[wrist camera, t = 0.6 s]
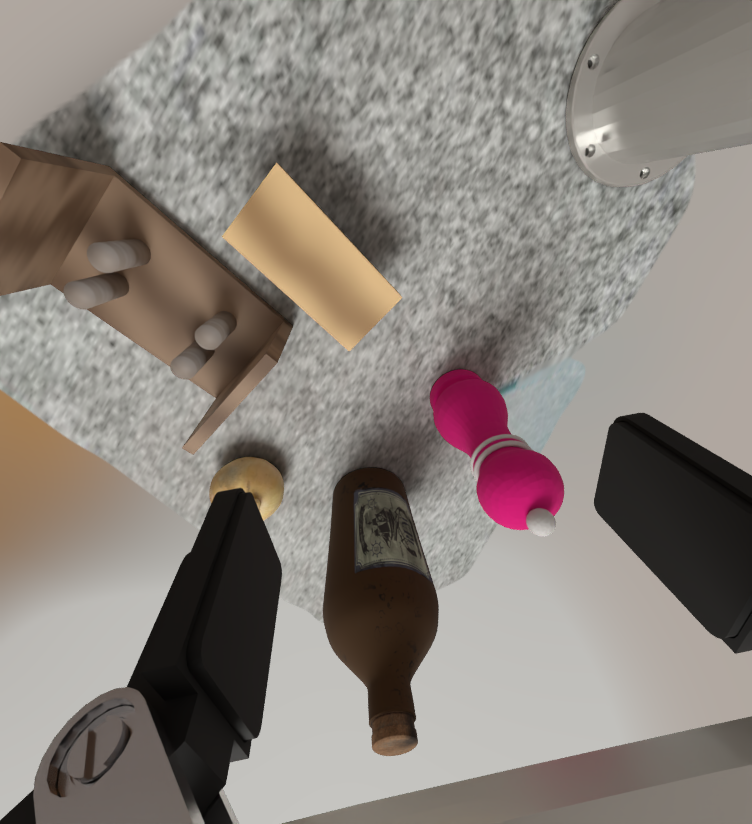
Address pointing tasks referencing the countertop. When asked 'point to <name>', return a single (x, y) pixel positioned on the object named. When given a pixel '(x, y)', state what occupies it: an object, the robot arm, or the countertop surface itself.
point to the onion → (251, 482)
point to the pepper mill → (497, 454)
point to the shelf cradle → (134, 275)
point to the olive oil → (379, 600)
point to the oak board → (311, 259)
